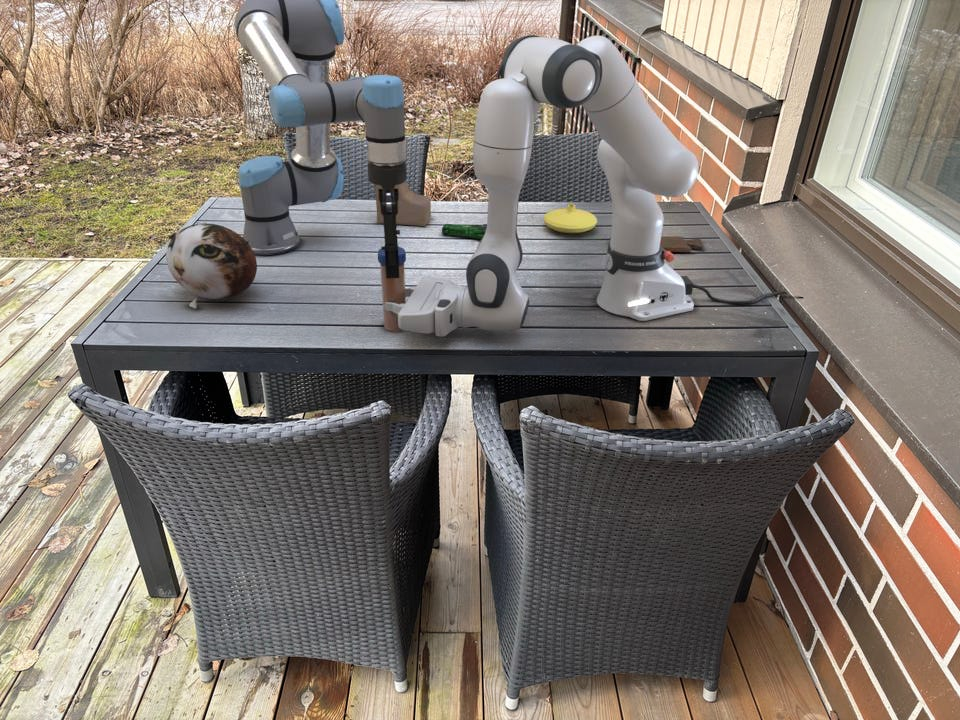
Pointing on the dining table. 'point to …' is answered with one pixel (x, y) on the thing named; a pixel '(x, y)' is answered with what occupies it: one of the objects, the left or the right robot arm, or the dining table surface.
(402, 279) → the jar
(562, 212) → the yellow knobbed disc
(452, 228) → the handgun
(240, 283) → the brown and white balloon
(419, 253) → the dining table surface
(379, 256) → the lid
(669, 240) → the wooden paddle board
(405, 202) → the decorative block
